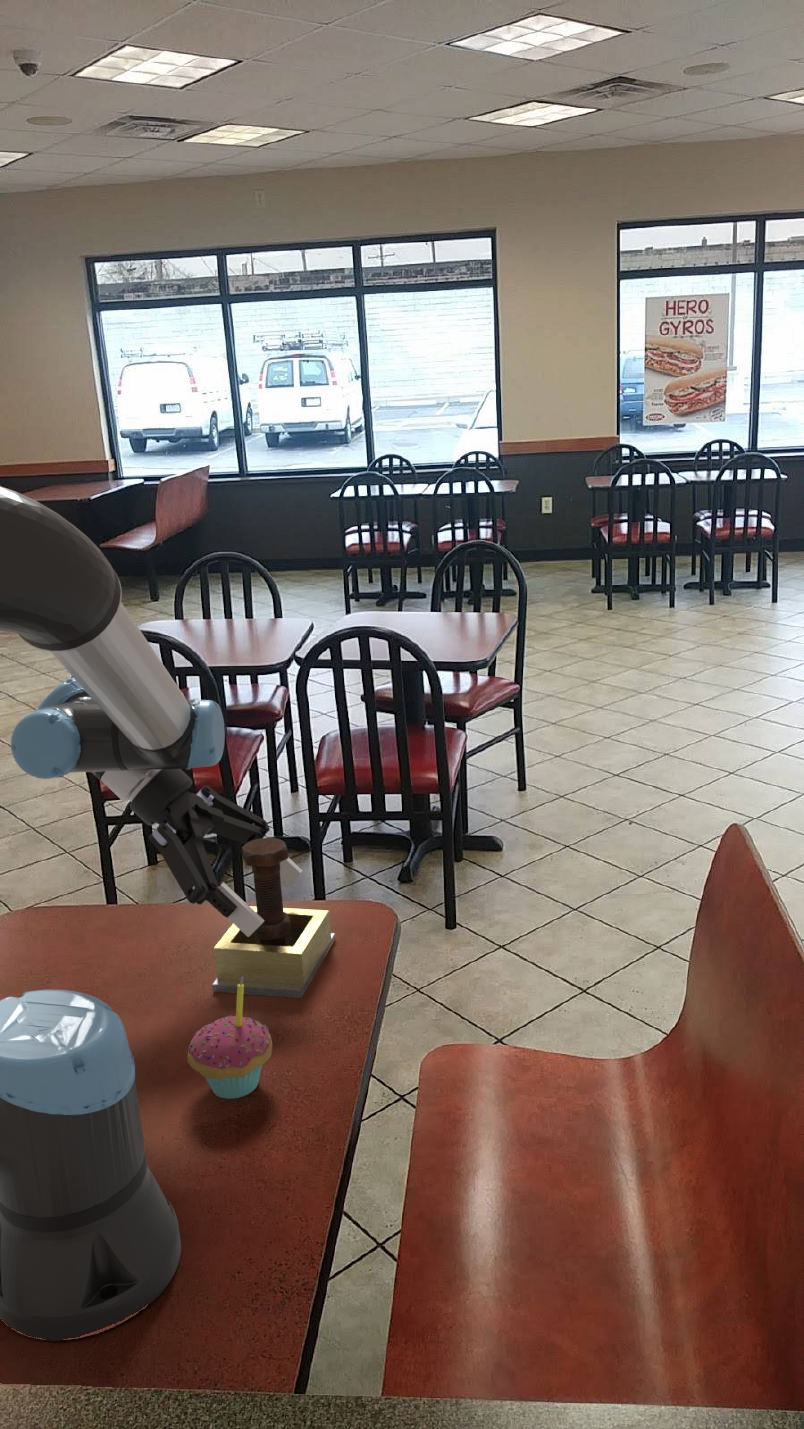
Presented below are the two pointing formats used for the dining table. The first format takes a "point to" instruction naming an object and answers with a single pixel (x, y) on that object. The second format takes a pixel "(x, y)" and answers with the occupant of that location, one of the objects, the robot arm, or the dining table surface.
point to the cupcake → (231, 1052)
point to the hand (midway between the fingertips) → (277, 902)
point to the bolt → (268, 888)
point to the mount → (274, 957)
